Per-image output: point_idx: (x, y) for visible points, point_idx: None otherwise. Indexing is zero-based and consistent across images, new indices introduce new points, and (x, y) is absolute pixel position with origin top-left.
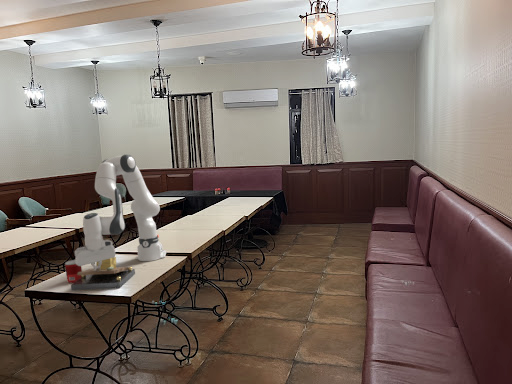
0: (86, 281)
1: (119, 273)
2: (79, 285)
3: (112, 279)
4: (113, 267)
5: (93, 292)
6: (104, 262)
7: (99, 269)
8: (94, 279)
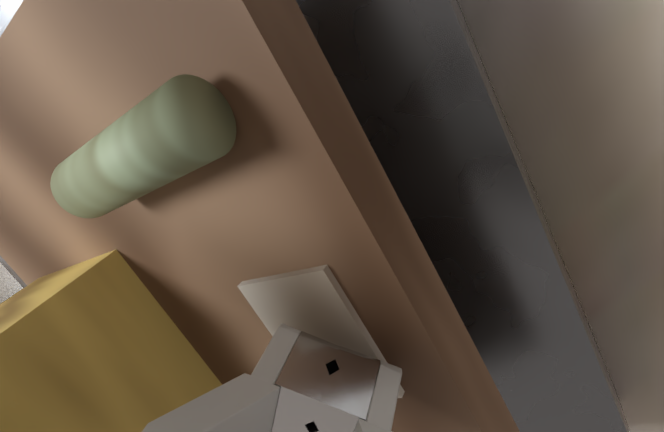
0: None
1: None
2: (602, 368)
3: None
4: (58, 164)
5: (654, 59)
6: (84, 429)
7: None
8: None
